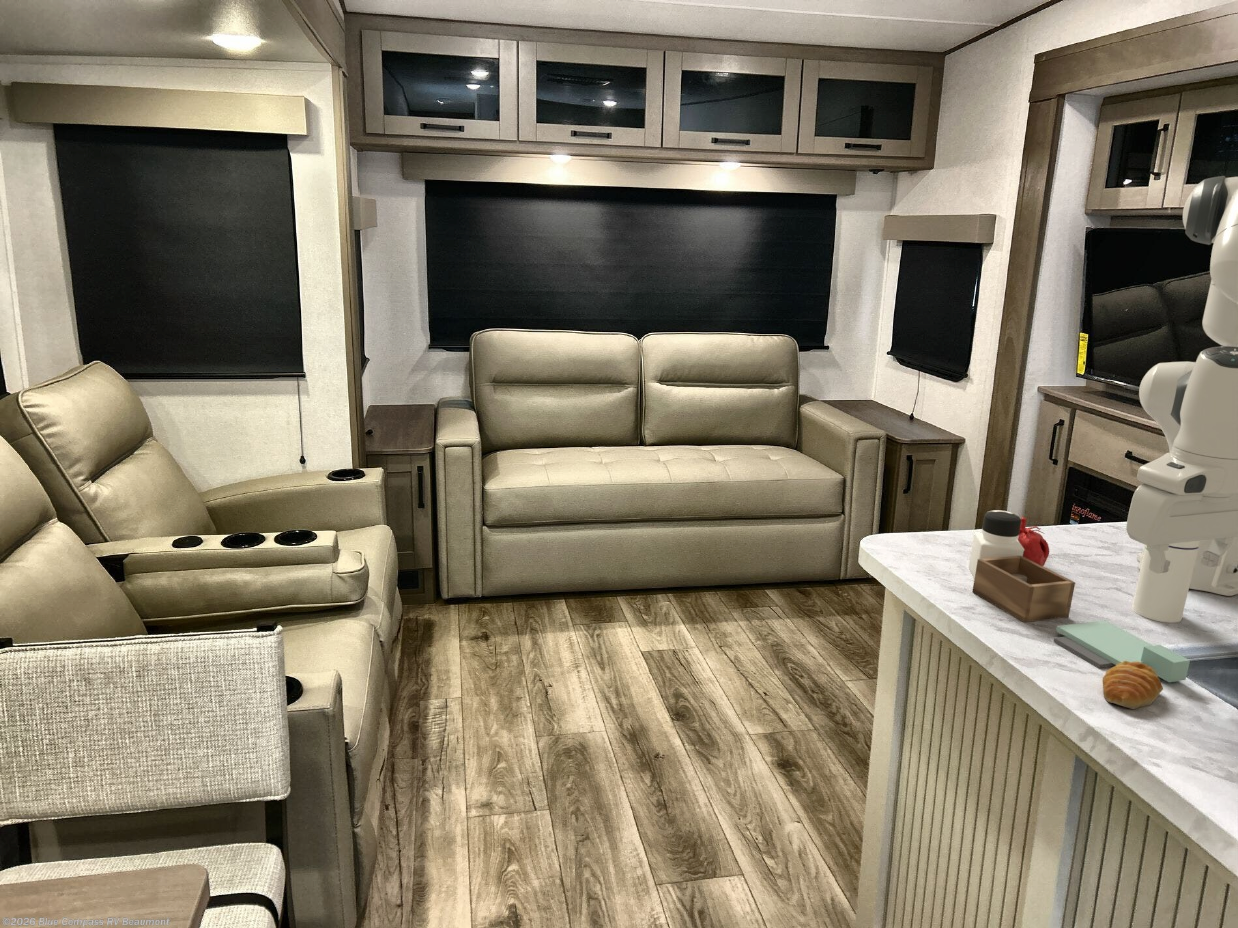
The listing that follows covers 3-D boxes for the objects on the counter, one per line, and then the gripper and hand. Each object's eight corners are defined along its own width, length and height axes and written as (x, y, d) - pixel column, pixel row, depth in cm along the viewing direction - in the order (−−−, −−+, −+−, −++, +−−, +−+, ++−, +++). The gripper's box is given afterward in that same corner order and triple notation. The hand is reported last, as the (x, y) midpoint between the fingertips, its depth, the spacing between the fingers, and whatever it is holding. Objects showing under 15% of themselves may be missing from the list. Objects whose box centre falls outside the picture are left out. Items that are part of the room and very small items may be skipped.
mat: (1104, 634, 138) (1105, 631, 138) (1152, 660, 130) (1153, 657, 130) (1053, 641, 134) (1054, 637, 134) (1099, 668, 127) (1100, 664, 126)
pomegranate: (997, 574, 161) (1004, 525, 159) (982, 554, 171) (988, 508, 168) (1054, 578, 160) (1062, 529, 158) (1036, 557, 170) (1043, 511, 167)
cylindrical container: (1164, 625, 142) (1199, 475, 136) (1122, 607, 148) (1153, 463, 142) (1191, 618, 146) (1226, 471, 139) (1148, 601, 152) (1180, 460, 145)
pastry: (1147, 719, 114) (1152, 693, 113) (1089, 700, 118) (1095, 674, 117) (1162, 693, 121) (1168, 668, 120) (1108, 676, 125) (1113, 651, 124)
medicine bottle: (1018, 587, 155) (1030, 522, 152) (975, 582, 156) (986, 517, 153) (1009, 572, 162) (1020, 509, 159) (967, 567, 163) (978, 505, 160)
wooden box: (1014, 587, 155) (1020, 555, 153) (1068, 616, 144) (1075, 582, 142) (972, 592, 152) (977, 559, 150) (1023, 622, 141) (1030, 586, 139)
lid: (1104, 624, 140) (1108, 607, 139) (1203, 677, 124) (1207, 657, 124) (1055, 630, 137) (1059, 612, 136) (1150, 684, 121) (1155, 665, 121)
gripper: (1241, 460, 124) (1218, 553, 128) (1128, 469, 117) (1108, 566, 121) (1286, 473, 118) (1261, 570, 122) (1170, 483, 112) (1147, 584, 116)
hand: (1184, 568), depth 122 cm, fingers open, 8 cm apart
